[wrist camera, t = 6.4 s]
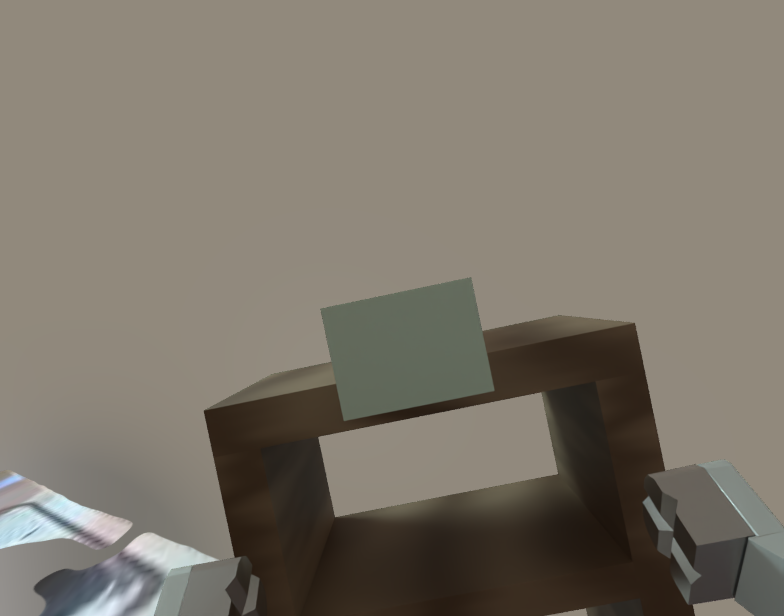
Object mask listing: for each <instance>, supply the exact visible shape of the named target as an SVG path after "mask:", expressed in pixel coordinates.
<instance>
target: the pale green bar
mask: <svg viewBox="0 0 784 616" xmlns="http://www.w3.org/2000/svg"><path fill="white" fill-rule="evenodd" d="M321 314H322V319H323V324H324V328H325V333H326V338H327V343H328V348H329V352H330V357H331V362H332V367H333V371H334V376H335V381H336V386H337V391H338V395H339V400H340V405H341V410H342V414H343V419H344V421H347V420H352V419H357V418H362V417H367V416H372V415H377V414H382V413H387V412H392V411H397V410H402V409H407V408H412V407H417V406H422V405H427V404H432V403H437V402H442V401H447V400H452V399H457V398H462V397H467V396H472V395H477V394H482V393H486V392H491V391H495V390H494V385H493V381H492V376H491V371H490V366H489V361H488V356H487V352H486V347H485V342H484V337H483V332H482V328H481V323H480V318H479V313H478V308H477V304H476V299H475V294H474V289H473V284H472V280H471V278H466V279H461V280H456V281H451V282H447V283H441V284H437V285H432V286H427V287H423V288H418V289H413V290H408V291H403V292H398V293H394V294H389V295H385V296H379V297H374V298H370V299H365V300H360V301H356V302H351V303H346V304H341V305H336V306H332V307H327V308H322V309H321Z"/></svg>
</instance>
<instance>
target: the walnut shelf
mask: <svg viewBox="0 0 784 616" xmlns="http://www.w3.org/2000/svg"><path fill="white" fill-rule="evenodd" d="M482 332H483V337H484V342H485V347H486V352H487V356H488V361H489V366H490V371H491V376H492V381H493V385H494V390H495V391H491V392H486V393H482V394H477V395H472V396H467V397H462V398H457V399H452V400H447V401H442V402H437V403H432V404H427V405H422V406H417V407H412V408H407V409H402V410H397V411H392V412H387V413H382V414H377V415H372V416H367V417H362V418H357V419H352V420H347V421H344V419H343V414H342V410H341V405H340V400H339V395H338V391H337V386H336V381H335V376H334V371H333V367H332V362H329V363H324V364H319V365H314V366H309V367H304V368H300V369H295V370H290V371H285V372H280V373H275V374H271V375H270V376H268V377H266V378H264V379H262V380H260V381H259V382H256V383H255V384H253V385H251V386H249V387H247V388H245V389H243V390H242V391H240V392H238V393H236V394H234V395H232V396H230V397H228V398H226V399H225V400H223V401H221V402H219V403H217V404H215V405H213V406H211V407H210V408H208V409H206V410H204V414H205V419H206V423H207V428H208V433H209V438H210V443H211V447H212V452H213V457H214V461H215V466H216V471H217V475H218V480H219V485H220V490H221V494H222V500H223V504H224V509H225V514H226V518H227V523H228V528H229V533H230V537H231V542H232V546H233V551H234V556H235V558H236V557H242V556H247V558H248V559H249V561H250V562H251V564H252V571H251V574H252V575H254V576H256V577H258V578H260V580H261V582H262V583H263V585H264V589H265V593H266V598H267V616H546V615H551V614H557V613H563V612H568V611H573V610H579V609H584V608H586V611H587V615H588V616H695V614H694V609H693V604H692V605H688V604H687V602H686V600H685V599H684V597H683V595H682V593H681V592H680V590H679V588H678V586H677V585H676V583H675V581H674V579H673V578H672V576H671V574H670V572H669V569H670V558H668V557H667V556H665V555H663V554H662V553H660V552H659V551H657V549H656V547H655V545H654V544H653V542H652V540H651V538H650V536H649V533H648V531H647V528H646V525H645V521H644V517H643V502H644V500H645V499H646V498H647V497H648V496H649V495H648V494H647V492H646V490H645V489H644V479H645V477H646V476H647V475H648V474H653V473H657V472H662V471H665V467H664V463H663V458H662V453H661V448H660V443H659V438H658V434H657V429H656V424H655V419H654V414H653V409H652V404H651V399H650V394H649V390H648V384H647V380H646V375H645V370H644V365H643V360H642V355H641V350H640V345H639V341H638V336H637V331H636V326H635V323H630V322H621V321H610V320H601V319H591V318H582V317H572V316H562V315H558V316H553V317H548V318H543V319H539V320H534V321H529V322H524V323H519V324H514V325H509V326H505V327H500V328H495V329H490V330H485V331H482ZM540 392H541V393H542V397H543V402H544V407H545V412H546V417H547V422H548V427H549V431H550V436H551V441H552V446H553V451H554V455H555V460H556V465H557V470H558V474H557V475H552V476H546V477H541V478H536V479H531V480H526V481H521V482H516V483H511V484H505V485H500V486H495V487H490V488H484V489H479V490H475V491H469V492H464V493H459V494H453V495H448V496H443V497H439V498H433V499H428V500H423V501H417V502H412V503H407V504H402V505H397V506H391V507H386V508H381V509H376V510H371V511H366V512H361V513H355V514H350V515H345V516H340V517H335V515H334V511H333V507H332V501H331V496H330V492H329V487H328V482H327V478H326V473H325V468H324V463H323V458H322V453H321V449H320V444H319V439H318V437H319V436H324V435H329V434H334V433H339V432H344V431H349V430H354V429H359V428H364V427H369V426H374V425H379V424H384V423H389V422H394V421H399V420H404V419H410V418H414V417H419V416H424V415H430V414H435V413H439V412H445V411H450V410H455V409H460V408H464V407H469V406H474V405H480V404H485V403H490V402H494V401H500V400H505V399H510V398H515V397H519V396H525V395H529V394H535V393H540Z"/></svg>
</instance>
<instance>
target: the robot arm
mask: <svg viewBox="0 0 784 616" xmlns="http://www.w3.org/2000/svg"><path fill="white" fill-rule="evenodd" d="M644 489H645V490H646V492H647V494H648V495H649V496H648V497H647V498H646V499H645V500H644V502H643V517H644V521H645V525H646V528H647V531H648V533H649V536H650V538H651V540H652V542H653V544H654V545H655V547H656V549H657V551H659V552H660V553H662V554H663V555H665V556H667V557H668V558H670V569H669V572H670V574H671V576H672V578H673V579H674V581H675V583H676V585H677V586H678V588H679V590H680V592H681V593H682V595H683V597H684V599H685V600H686V602H687V604H688V605H692V604H698V603H704V602H711V601H716V600H723V599H730V598H735V601H736V602H737V603H739V604H740V605H741V606H743V607H744V608H745V609H746V610H748V611H749V612H750V613H752V614H753V615H754V616H784V527H783V525H782V524H781V523H780V521H779V520H778V519H777V518H776V517H775V516H774V514H773V513H772V512H771V511H770V510H769V508H768V507H767V506H766V505H765V504H764V502H763V501H762V500H761V499H760V498H759V496H758V495H757V494H756V493H755V492H754V490H753V489H752V488H751V487H750V485H749V484H748V483H747V482H746V481H745V479H743V477H742V476H741V475H740V474H739V472H738V471H737V470H736V469H735V467H734V466H733V465H732V464H731V463H730V462H728V461H726V460H725V459H724V460H717V461H712V462H708V463H703V464H699V465H695V464H694V465H690V466H685V467H681V468H676V469H671V470H667V471H662V472H657V473H653V474H648V475H647V476H646V477H645V479H644ZM251 571H252V564H251V562H250V561H249V559H248V558H247V556H242V557H236V558H231V559H226V560H220V561H214V562H208V563H203V564H196V565H191V566H186V567H181V568H176V569H171V571H170V572H169V574H168V575H167V577H166V578H165V581H164V585H163V588H162V591H161V594H160V598H159V601H158V604H157V607H156V611H155V614H154V616H267V598H266V593H265V589H264V585H263V583H262V582H261V580H260V578H258V577H256V576H254V575H252V574H251Z"/></svg>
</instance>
